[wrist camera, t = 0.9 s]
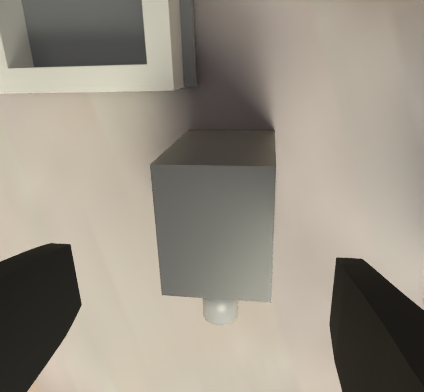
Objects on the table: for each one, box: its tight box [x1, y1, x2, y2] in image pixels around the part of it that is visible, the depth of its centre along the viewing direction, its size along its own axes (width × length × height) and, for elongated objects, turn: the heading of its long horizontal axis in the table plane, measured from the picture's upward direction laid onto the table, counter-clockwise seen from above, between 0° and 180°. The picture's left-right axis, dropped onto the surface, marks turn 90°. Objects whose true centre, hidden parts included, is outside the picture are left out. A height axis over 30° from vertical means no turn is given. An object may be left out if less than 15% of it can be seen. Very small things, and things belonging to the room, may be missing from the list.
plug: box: [150, 130, 276, 325], centre depth 15 cm, size 4×7×6 cm, turn 1°
